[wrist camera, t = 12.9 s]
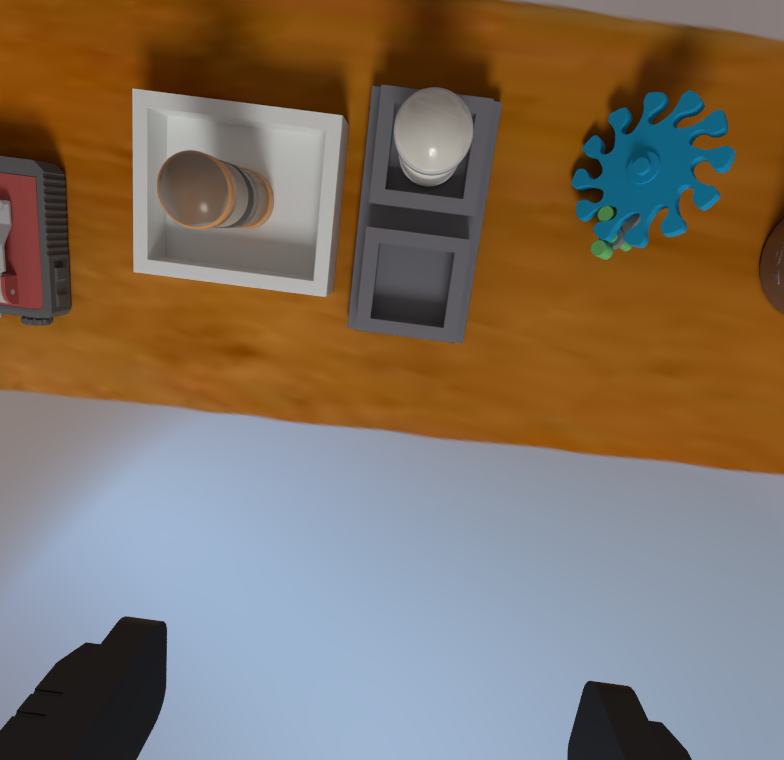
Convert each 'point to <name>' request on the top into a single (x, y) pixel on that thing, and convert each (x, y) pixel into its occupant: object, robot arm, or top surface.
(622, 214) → the gear
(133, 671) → the robot arm
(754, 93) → the top surface
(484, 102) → the fuse block
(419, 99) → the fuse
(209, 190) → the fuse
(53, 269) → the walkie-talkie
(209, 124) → the parts tray
